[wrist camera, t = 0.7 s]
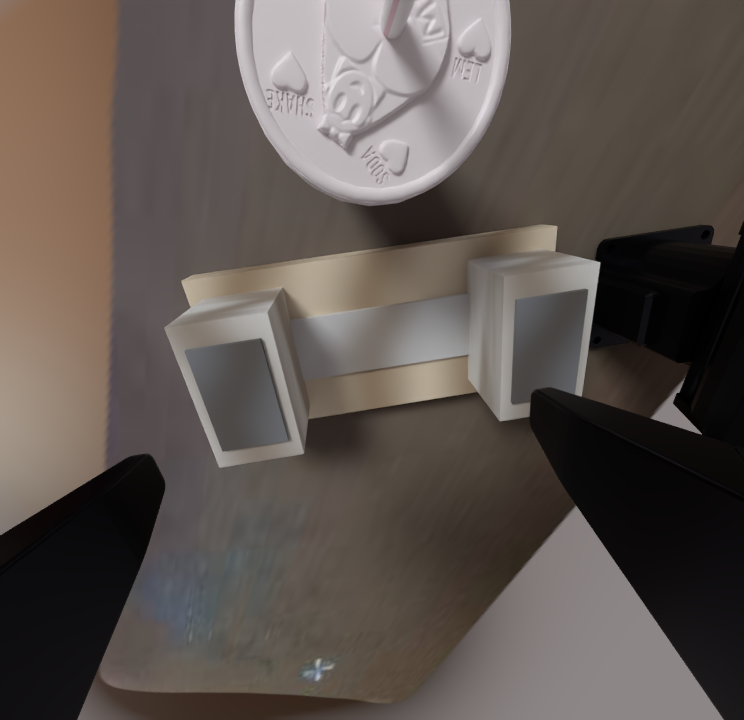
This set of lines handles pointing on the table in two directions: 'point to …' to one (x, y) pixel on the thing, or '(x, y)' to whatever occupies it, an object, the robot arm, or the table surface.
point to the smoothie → (373, 88)
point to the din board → (381, 334)
